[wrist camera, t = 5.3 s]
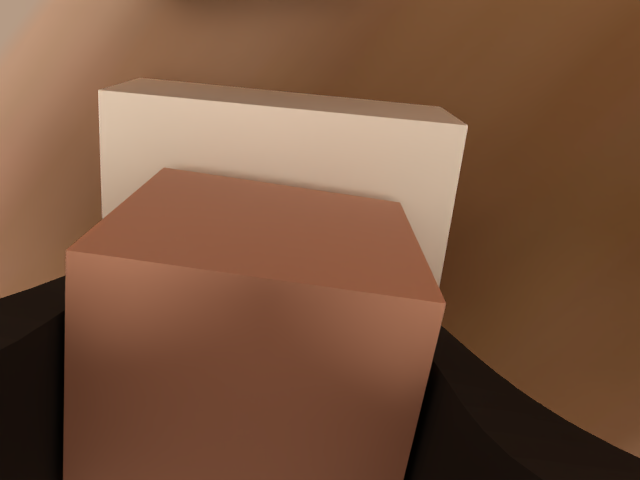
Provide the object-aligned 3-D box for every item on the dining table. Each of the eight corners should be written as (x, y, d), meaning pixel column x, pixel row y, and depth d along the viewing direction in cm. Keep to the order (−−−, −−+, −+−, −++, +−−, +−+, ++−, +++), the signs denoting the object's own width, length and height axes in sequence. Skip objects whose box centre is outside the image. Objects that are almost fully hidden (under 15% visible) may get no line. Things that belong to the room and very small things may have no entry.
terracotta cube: (359, 401, 14) (377, 584, 10) (150, 374, 14) (62, 547, 9) (399, 202, 13) (446, 303, 8) (163, 166, 12) (65, 250, 8)
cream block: (437, 105, 16) (467, 125, 13) (397, 359, 19) (413, 429, 16) (143, 76, 16) (97, 90, 13) (145, 338, 19) (108, 405, 15)
